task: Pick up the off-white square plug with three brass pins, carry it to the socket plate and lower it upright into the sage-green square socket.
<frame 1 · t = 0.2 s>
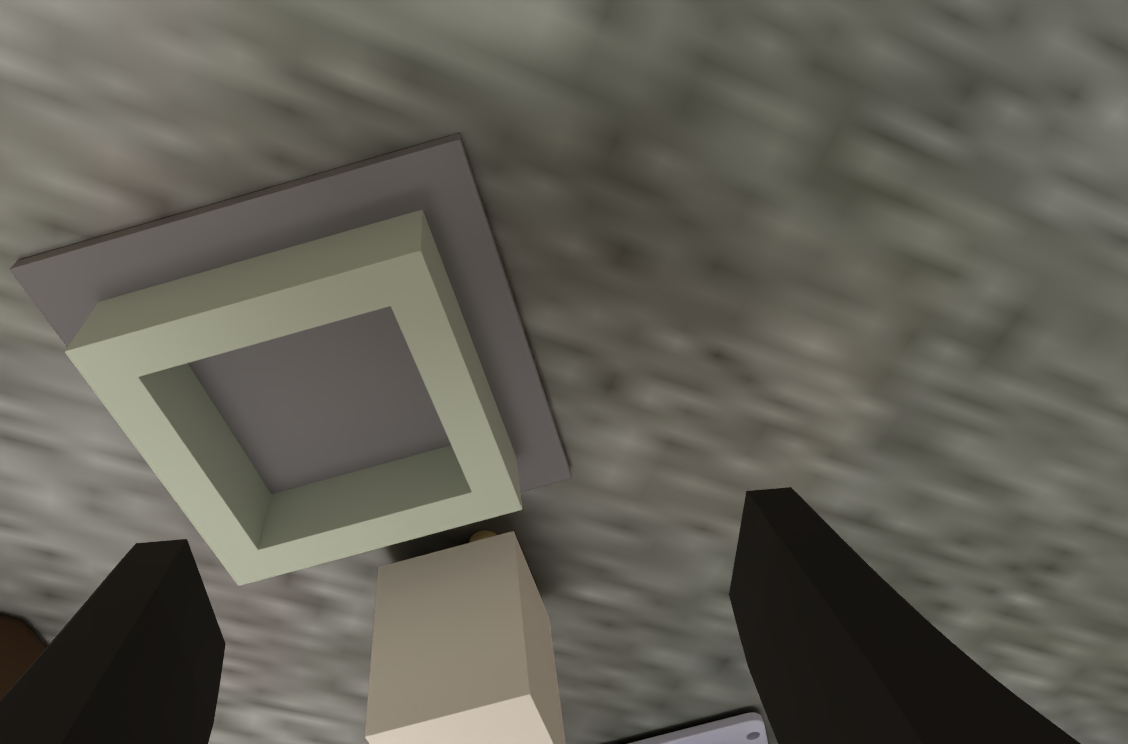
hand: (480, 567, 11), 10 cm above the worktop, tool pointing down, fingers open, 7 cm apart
socket block: (329, 378, 21), on the worktop
plug: (466, 572, 25), on the worktop
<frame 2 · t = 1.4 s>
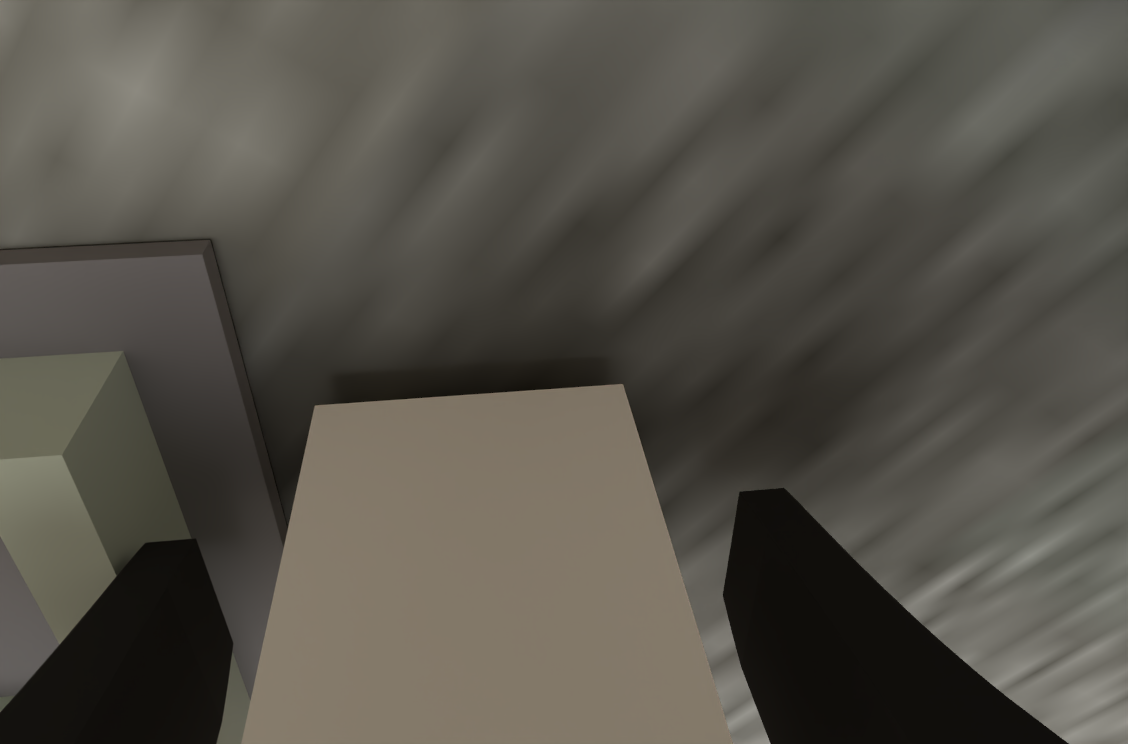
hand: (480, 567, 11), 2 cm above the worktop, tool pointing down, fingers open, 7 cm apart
plug: (478, 469, 13), on the worktop
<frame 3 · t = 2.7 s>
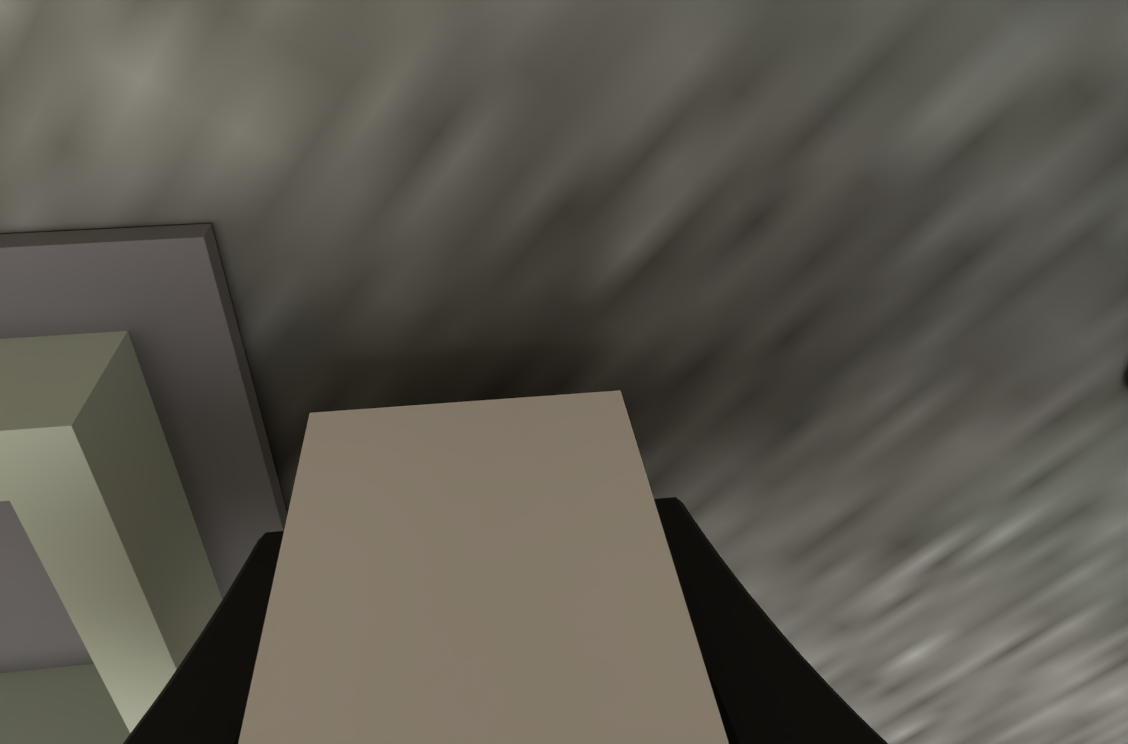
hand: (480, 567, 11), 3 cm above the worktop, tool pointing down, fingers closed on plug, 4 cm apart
plug: (475, 476, 12), point 1 cm above the worktop, touching gripper
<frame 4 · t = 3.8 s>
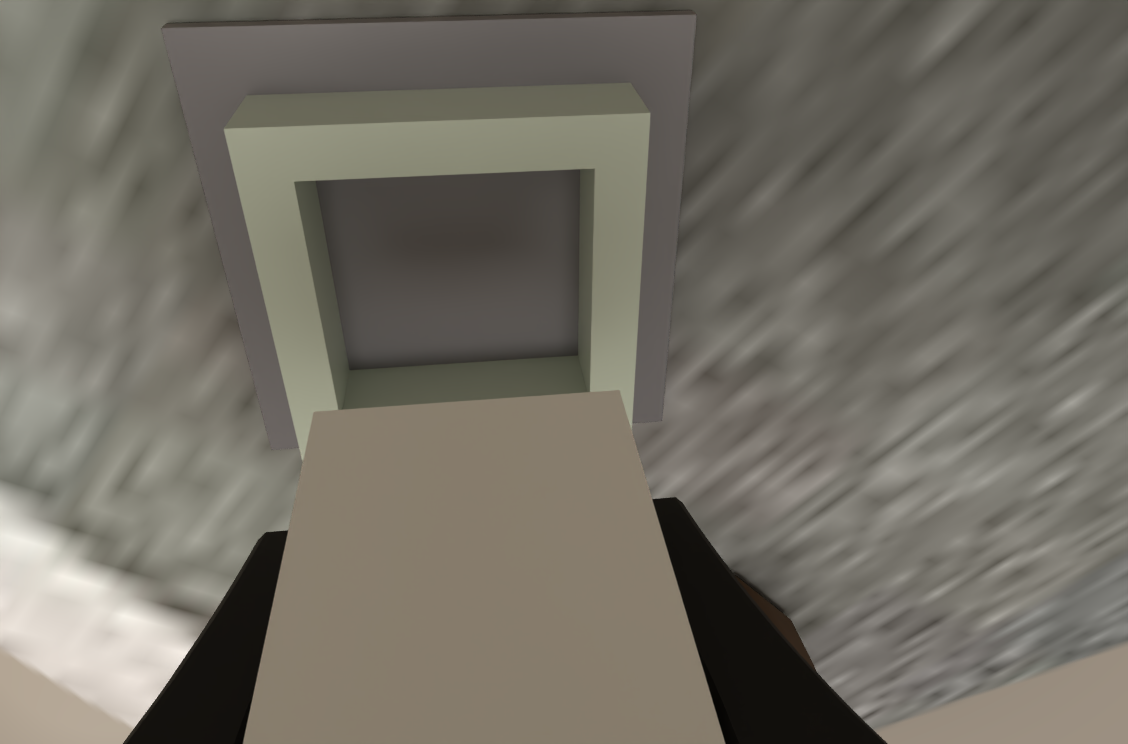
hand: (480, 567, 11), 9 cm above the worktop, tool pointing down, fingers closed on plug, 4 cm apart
socket block: (456, 252, 19), on the worktop
plug: (476, 474, 13), point 7 cm above the worktop, touching gripper
beer bottle: (677, 639, 28), on the worktop
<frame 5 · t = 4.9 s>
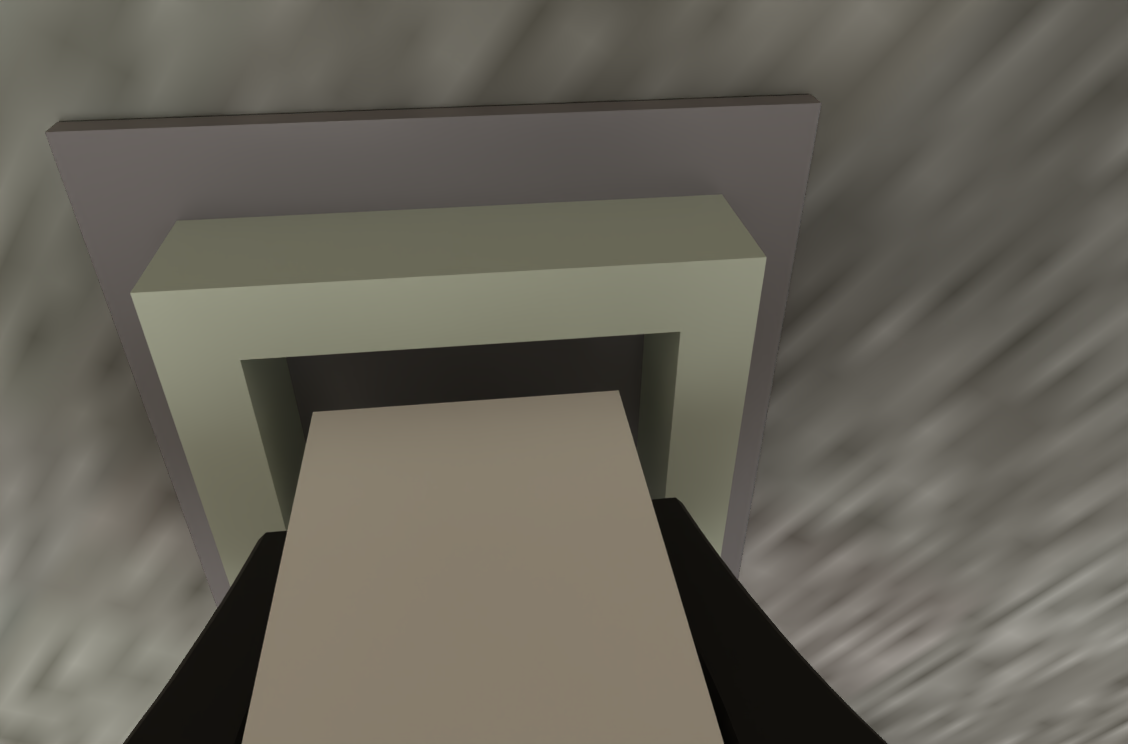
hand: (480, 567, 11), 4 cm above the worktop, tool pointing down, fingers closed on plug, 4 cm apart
socket block: (474, 406, 14), on the worktop
plug: (475, 474, 13), point 2 cm above the worktop, touching gripper
when the fingers open (3 cm above the worktop, at t = 5.9 s): plug stays where it is, resting on socket block.
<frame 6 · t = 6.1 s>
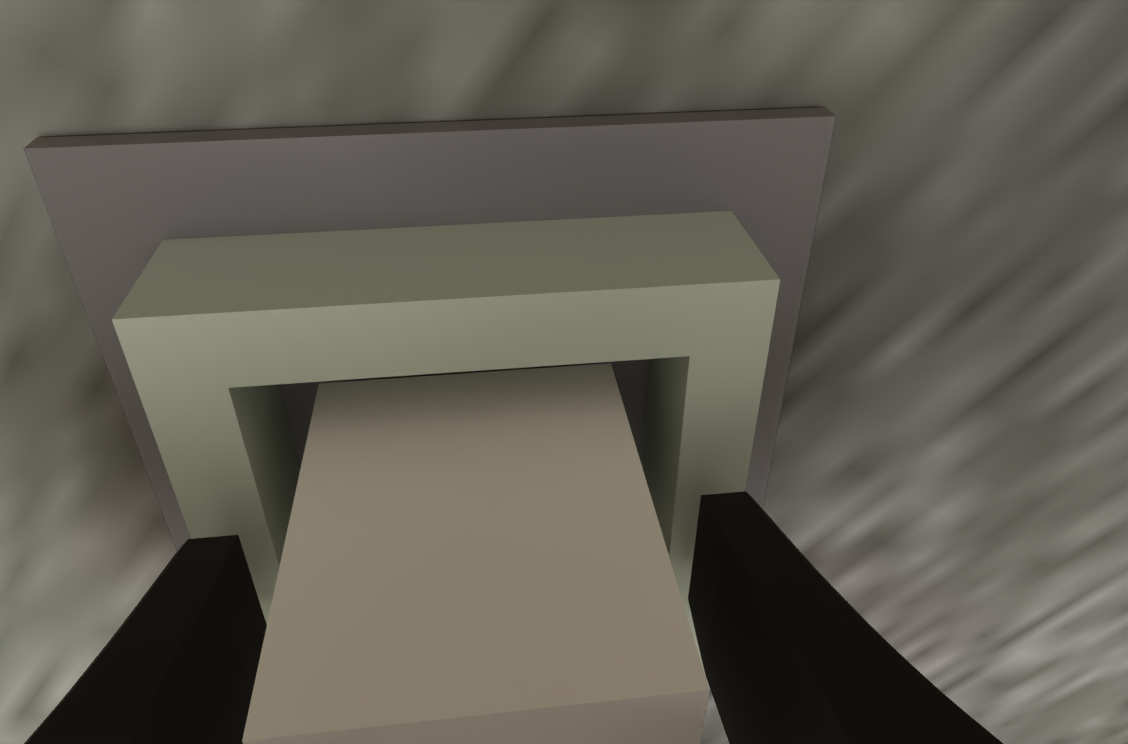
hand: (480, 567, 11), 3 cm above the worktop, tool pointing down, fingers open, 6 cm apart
socket block: (473, 427, 13), on the worktop
plug: (474, 448, 13), resting on socket block
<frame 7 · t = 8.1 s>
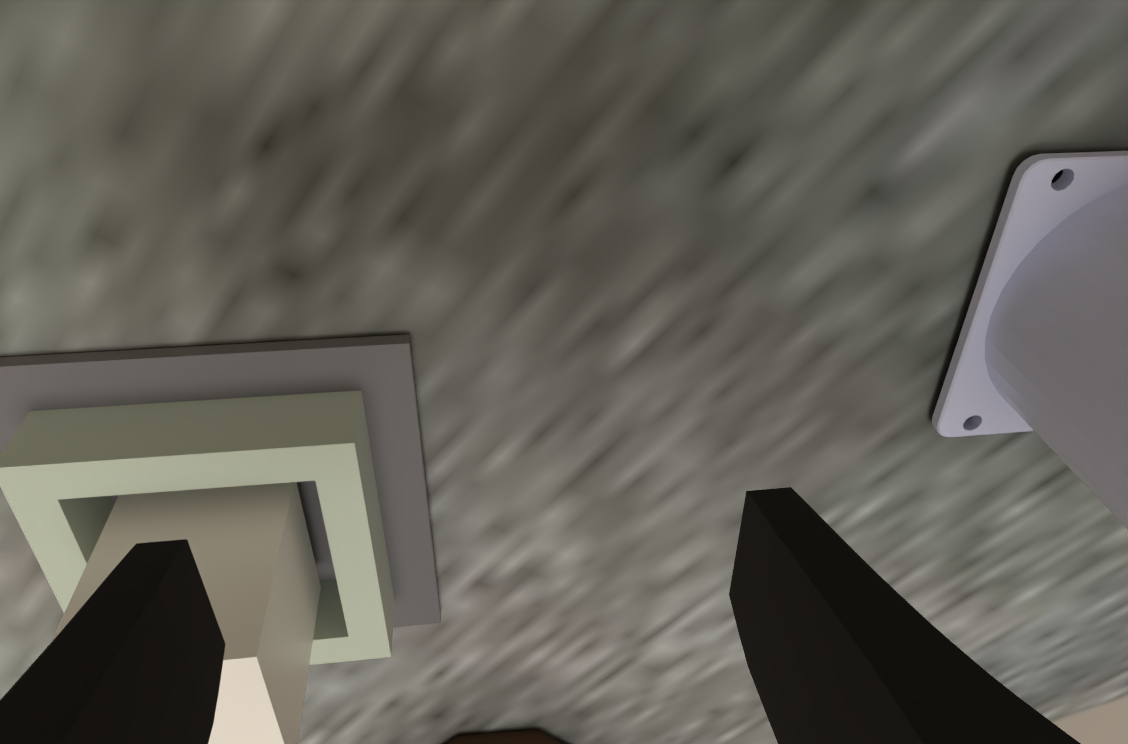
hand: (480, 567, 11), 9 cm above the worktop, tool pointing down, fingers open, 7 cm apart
socket block: (236, 505, 22), on the worktop
plug: (234, 518, 22), resting on socket block
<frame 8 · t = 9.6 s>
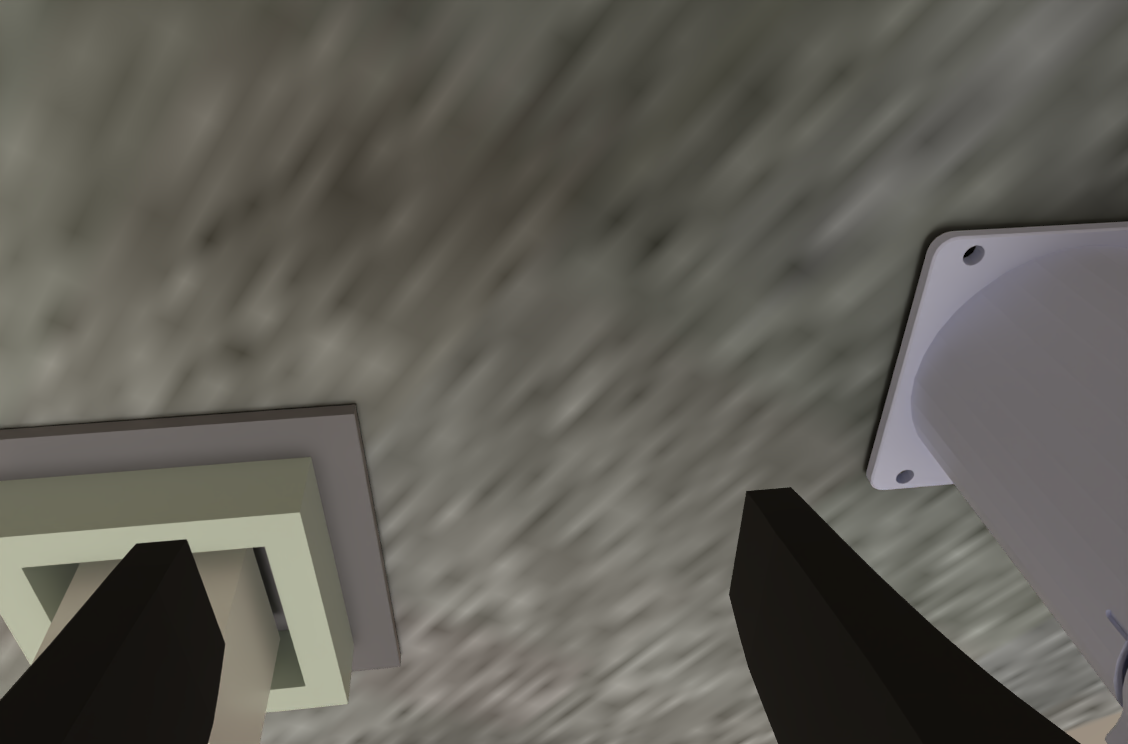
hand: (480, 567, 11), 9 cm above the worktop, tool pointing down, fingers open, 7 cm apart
socket block: (198, 561, 23), on the worktop
plug: (195, 574, 23), resting on socket block
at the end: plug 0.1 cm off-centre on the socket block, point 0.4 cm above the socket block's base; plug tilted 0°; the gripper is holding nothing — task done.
